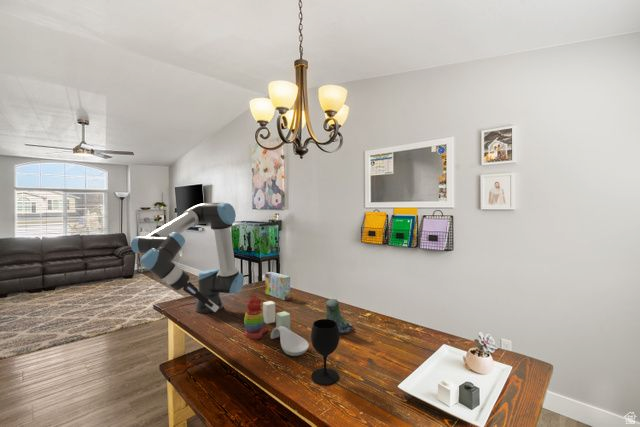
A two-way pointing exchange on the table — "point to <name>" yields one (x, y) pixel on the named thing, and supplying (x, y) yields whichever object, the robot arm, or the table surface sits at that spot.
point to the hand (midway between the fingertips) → (216, 309)
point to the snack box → (277, 285)
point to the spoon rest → (290, 341)
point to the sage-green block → (283, 320)
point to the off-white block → (269, 312)
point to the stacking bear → (254, 319)
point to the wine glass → (325, 349)
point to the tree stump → (337, 316)
